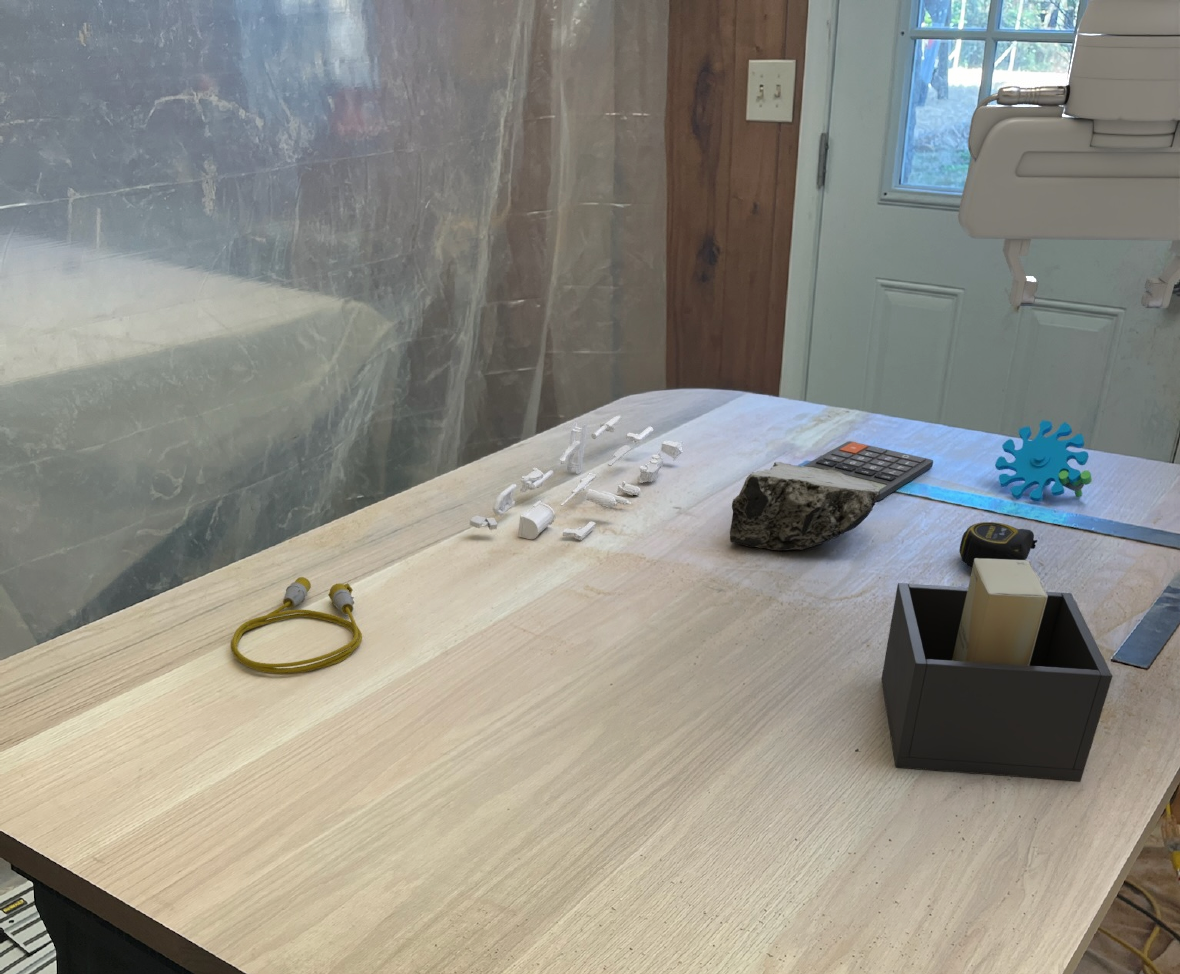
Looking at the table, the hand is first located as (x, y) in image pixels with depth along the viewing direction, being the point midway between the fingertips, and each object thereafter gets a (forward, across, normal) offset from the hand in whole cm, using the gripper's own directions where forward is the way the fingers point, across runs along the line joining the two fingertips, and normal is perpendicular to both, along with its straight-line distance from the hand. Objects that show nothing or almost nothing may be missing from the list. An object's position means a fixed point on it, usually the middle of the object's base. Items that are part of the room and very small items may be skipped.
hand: (1087, 305), depth 84 cm
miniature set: (+29, -41, +35) cm, 61 cm away
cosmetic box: (+28, -5, -12) cm, 31 cm away
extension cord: (+29, -63, -3) cm, 69 cm away
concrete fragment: (+29, -17, +25) cm, 42 cm away
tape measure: (+30, +3, +20) cm, 36 cm away
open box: (+29, -5, -12) cm, 32 cm away
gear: (+30, +11, +42) cm, 52 cm away
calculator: (+29, -9, +46) cm, 55 cm away
